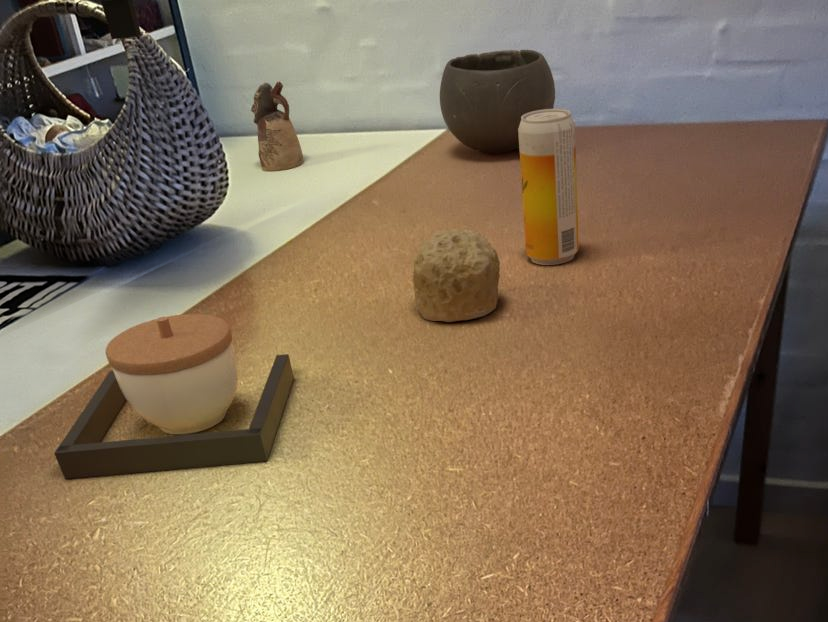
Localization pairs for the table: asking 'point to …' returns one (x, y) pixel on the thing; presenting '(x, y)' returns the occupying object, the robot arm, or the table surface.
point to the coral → (456, 276)
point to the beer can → (549, 185)
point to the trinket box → (177, 371)
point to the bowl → (494, 96)
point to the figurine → (275, 130)
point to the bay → (172, 452)
